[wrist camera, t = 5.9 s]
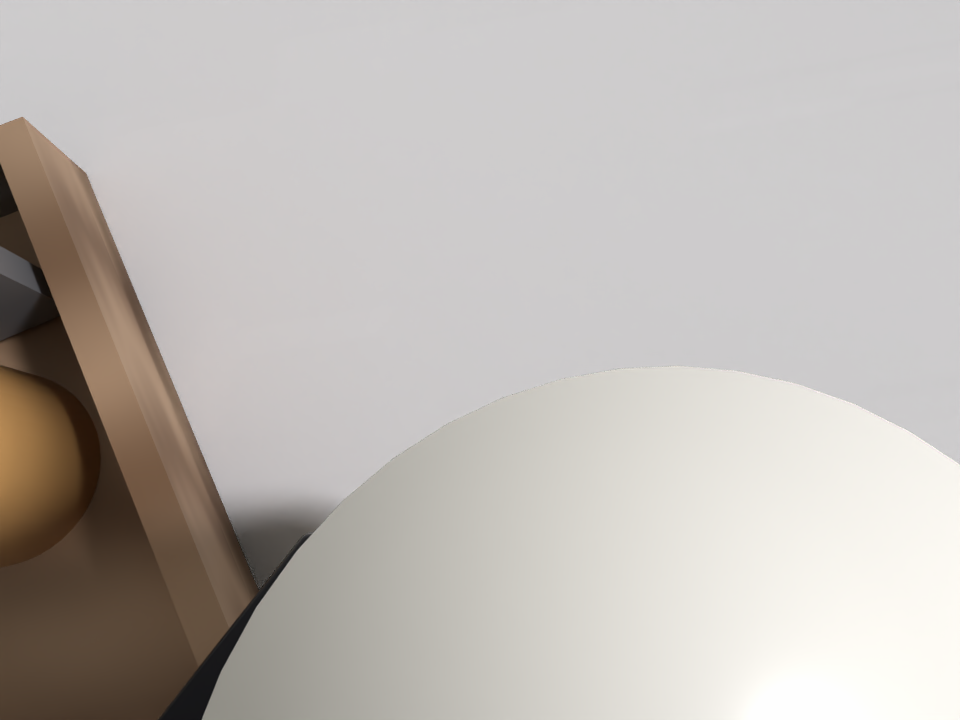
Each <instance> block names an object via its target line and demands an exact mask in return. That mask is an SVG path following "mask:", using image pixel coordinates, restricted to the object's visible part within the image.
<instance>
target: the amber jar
mask: <svg viewBox="0 0 960 720" xmlns="http://www.w3.org/2000/svg"><path fill="white" fill-rule="evenodd" d="M100 463H101V453H100V443H99V439H98V434H97V431H96V428H95V425H94V423H93V421H92V419H91V417H90V415H89V413H88V411H87V410H86V409H85V407H84V406H83V405H82V403H81V402H80V401H79V400H78V399H77V398H76V397H75V396H74V395H73V394H72V393H71V392H69V391H68V390H67V389H65V388H64V387H63V386H61V385H59V384H57V383H55V382H53V381H51V380H49V379H46V378H44V377H41V376H38V375H34V374H31V373H27V372H24V371H20V370H17V369H13V368H10V367H6V366H3V365H0V567H5V566H11V565H15V564H18V563H21V562H25V561H27V560H29V559H32V558H34V557H36V556H38V555H40V554H42V553H43V552H45V551H47V550H48V549H50V548H51V547H53V546H54V545H55V544H57V543H58V542H59V541H61V540H62V539H63V538H64V537H65V536H66V535H67V534H68V533H69V532H70V531H71V530H72V529H73V528H74V526H75V525H76V524H77V523H78V522H79V520H80V519H81V517H82V516H83V514H84V513H85V511H86V510H87V508H88V506H89V504H90V502H91V500H92V498H93V495H94V492H95V489H96V486H97V483H98V478H99V473H100Z"/></svg>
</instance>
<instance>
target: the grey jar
mask: <svg viewBox="0 0 960 720" xmlns="http://www.w3.org/2000/svg"><path fill="white" fill-rule="evenodd" d="M202 720H960V464H958V463H957V462H955V461H954V460H952V459H951V458H949V457H948V456H946V455H944V454H943V453H941V452H940V451H938V450H937V449H935V448H934V447H932V446H931V445H929V444H928V443H926V442H925V441H923V440H922V439H920V438H918V437H917V436H915V435H914V434H912V433H911V432H909V431H907V430H905V429H903V428H901V427H899V426H897V425H895V424H893V423H891V422H889V421H887V420H885V419H883V418H881V417H879V416H877V415H875V414H873V413H871V412H869V411H867V410H865V409H863V408H861V407H859V406H857V405H855V404H853V403H850V402H847V401H844V400H841V399H839V398H836V397H833V396H830V395H827V394H824V393H822V392H819V391H816V390H813V389H810V388H807V387H805V386H802V385H799V384H796V383H791V382H787V381H782V380H777V379H773V378H768V377H763V376H759V375H754V374H750V373H745V372H740V371H732V370H721V369H709V368H697V367H686V366H666V367H644V368H622V369H615V370H609V371H603V372H598V373H592V374H587V375H581V376H575V377H570V378H564V379H559V380H556V381H553V382H550V383H547V384H544V385H541V386H538V387H534V388H531V389H528V390H525V391H522V392H519V393H516V394H512V395H509V396H506V397H503V398H501V399H499V400H497V401H495V402H492V403H490V404H488V405H486V406H484V407H482V408H480V409H478V410H475V411H473V412H471V413H469V414H467V415H465V416H463V417H461V418H458V419H456V420H454V421H452V422H450V423H448V424H446V425H444V426H443V427H441V428H440V429H438V430H437V431H435V432H434V433H432V434H430V435H429V436H427V437H426V438H424V439H423V440H421V441H420V442H418V443H416V444H415V445H413V446H412V447H410V448H409V449H407V450H406V451H404V452H402V453H401V454H399V455H398V456H396V457H395V458H393V459H392V460H391V461H390V462H388V463H387V464H386V465H385V466H384V467H382V468H381V469H380V470H379V471H378V472H377V473H375V474H374V475H373V476H372V477H371V478H369V479H368V480H367V481H366V482H365V483H363V484H362V485H361V486H360V487H359V488H357V489H356V490H355V491H354V492H353V493H352V494H350V495H349V496H348V497H347V498H346V499H344V500H343V501H342V502H341V503H340V505H339V506H338V507H337V508H336V509H335V510H334V511H333V512H332V513H331V514H330V515H329V516H328V518H327V519H326V520H325V521H324V522H323V523H322V524H321V525H320V526H319V527H318V528H317V529H316V531H315V532H314V533H313V534H312V535H311V536H310V537H309V538H308V539H307V540H306V541H305V542H304V544H303V545H302V546H301V547H300V548H299V549H298V550H297V551H296V553H295V554H294V556H293V557H292V558H291V560H290V561H289V562H288V564H287V565H286V567H285V568H284V569H283V571H282V572H281V574H280V575H279V576H278V578H277V579H276V581H275V582H274V583H273V585H272V586H271V588H270V589H269V590H268V592H267V593H266V595H265V596H264V597H263V599H262V600H261V601H260V603H259V604H258V606H257V607H256V609H255V611H254V612H253V614H252V616H251V618H250V620H249V621H248V623H247V625H246V627H245V629H244V631H243V632H242V634H241V636H240V638H239V640H238V642H237V643H236V645H235V647H234V649H233V651H232V652H231V654H230V656H229V658H228V660H227V662H226V663H225V665H224V667H223V669H222V671H221V673H220V675H219V678H218V680H217V683H216V685H215V688H214V690H213V693H212V695H211V698H210V700H209V703H208V705H207V708H206V710H205V713H204V715H203V718H202Z"/></svg>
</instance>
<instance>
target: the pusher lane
mask: <svg viewBox="0 0 960 720" xmlns="http://www.w3.org/2000/svg"><path fill="white" fill-rule="evenodd" d="M0 246H1V247H3V248H5V249H6V250H8V251H10V252H12V253H14V254H15V255H17V256H19V257H21V258H23V259H24V260H26V261H28V262H30V263H32V264H33V265H35V266H37V267H39V268H41V269H42V271H43V273H44V276H45V278H46V281H47V283H48V286H49V288H50V291H51V293H52V296H53V299H54V301H55V304H56V306H57V309H58V311H59V314H60V316H58V317H56V318H54V319H51V320H49V321H46V322H44V323H42V324H39V325H37V326H35V327H32V328H30V329H27V330H25V331H23V332H20V333H18V334H16V335H13V336H11V337H8V338H6V339H4V340H1V341H0V365H3V366H6V367H10V368H13V369H17V370H20V371H24V372H27V373H31V374H34V375H38V376H41V377H44V378H46V379H49V380H51V381H53V382H55V383H57V384H59V385H61V386H63V387H64V388H65V389H67V390H68V391H69V392H71V393H72V394H73V395H74V396H75V397H76V398H77V399H78V400H79V401H80V402H81V403H82V405H83V406H84V407H85V409H86V410H87V411H88V413H89V415H90V417H91V419H92V421H93V423H94V425H95V428H96V431H97V434H98V439H99V443H100V453H101V463H100V473H99V478H98V483H97V486H96V489H95V492H94V495H93V498H92V500H91V502H90V504H89V506H88V508H87V510H86V511H85V513H84V514H83V516H82V517H81V519H80V520H79V522H78V523H77V524H76V525H75V526H74V528H73V529H72V530H71V531H70V532H69V533H68V534H67V535H66V536H65V537H64V538H63V539H62V540H61V541H59V542H58V543H57V544H55V545H54V546H53V547H51V548H50V549H48V550H47V551H45V552H43V553H42V554H40V555H38V556H36V557H34V558H32V559H29V560H27V561H25V562H21V563H18V564H15V565H11V566H5V567H0V720H157V719H158V718H159V716H160V715H161V714H162V712H163V711H164V710H165V709H166V707H167V706H168V705H169V704H170V702H171V701H172V700H173V699H174V697H175V696H176V695H177V694H178V692H179V691H180V690H181V689H182V687H183V686H184V685H185V683H186V682H187V681H188V680H189V678H190V677H191V676H192V675H193V673H194V672H195V671H196V670H197V668H198V667H199V666H200V665H201V663H202V662H203V661H204V660H205V658H206V657H207V656H208V654H209V653H210V652H211V651H212V649H213V648H214V647H215V646H216V644H217V643H218V642H219V641H220V639H221V638H222V637H223V636H224V634H225V633H226V632H227V631H228V629H229V628H230V627H231V625H232V624H233V623H234V622H235V620H236V619H237V618H238V617H239V615H240V614H241V613H242V612H243V610H244V609H245V608H246V607H247V605H248V604H249V603H250V602H251V600H252V599H253V598H254V596H255V595H256V594H257V593H258V591H259V590H258V588H257V586H256V583H255V581H254V578H253V576H252V573H251V571H250V569H249V566H248V564H247V561H246V559H245V557H244V554H243V552H242V549H241V547H240V544H239V542H238V540H237V537H236V535H235V532H234V530H233V528H232V525H231V523H230V520H229V518H228V515H227V513H226V511H225V508H224V506H223V503H222V501H221V499H220V496H219V494H218V491H217V489H216V486H215V484H214V482H213V479H212V477H211V474H210V472H209V470H208V467H207V465H206V462H205V460H204V457H203V455H202V453H201V450H200V448H199V445H198V443H197V441H196V438H195V436H194V433H193V431H192V428H191V426H190V424H189V421H188V419H187V416H186V414H185V412H184V409H183V407H182V404H181V402H180V399H179V397H178V395H177V392H176V390H175V387H174V385H173V383H172V380H171V378H170V375H169V373H168V370H167V368H166V366H165V363H164V361H163V358H162V356H161V354H160V351H159V349H158V346H157V344H156V341H155V339H154V337H153V334H152V332H151V329H150V327H149V325H148V322H147V320H146V317H145V315H144V312H143V310H142V308H141V305H140V303H139V300H138V298H137V296H136V293H135V291H134V288H133V286H132V283H131V281H130V279H129V276H128V274H127V271H126V269H125V267H124V264H123V262H122V259H121V257H120V254H119V252H118V250H117V247H116V245H115V242H114V240H113V238H112V235H111V233H110V230H109V228H108V225H107V223H106V221H105V218H104V216H103V213H102V211H101V209H100V206H99V204H98V201H97V199H96V196H95V194H94V192H93V189H92V187H91V184H90V182H89V180H88V177H87V175H86V173H85V172H84V171H83V170H82V169H81V168H79V167H78V166H77V165H76V164H75V163H74V162H73V161H72V160H70V159H69V158H68V157H67V156H66V155H65V154H64V153H63V152H61V151H60V150H59V149H58V148H57V147H56V146H55V145H54V144H53V143H51V142H50V141H49V140H48V139H47V138H46V137H45V136H44V135H42V134H41V133H40V132H39V131H38V130H37V129H36V128H35V127H34V126H32V125H31V124H30V123H29V122H28V121H27V120H26V119H25V118H23V117H21V118H18V119H15V120H13V121H10V122H7V123H5V124H2V125H0Z"/></svg>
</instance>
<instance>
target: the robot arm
mask: <svg viewBox="0 0 960 720" xmlns="http://www.w3.org/2000/svg"><path fill="white" fill-rule="evenodd" d="M312 534H313V533H307V534H305V535H303V536H302V537H301V539H300V540H299V541H298V542H297V544H296V545H295V546H294V547H293V549H292V550H291V551H290V552H289V554H288V555H287V556H286V557H285V559H284V560H283V561H282V562H281V564H280V565H279V566H278V567H277V569H276V570H275V571H274V573H273V574H272V575H271V576H270V578H269V579H268V580H267V581H266V583H265V584H264V585H263V586H262V588H261V589H260V590H259V591H258V593H257V594H256V595H255V596H254V598H253V599H252V600H251V602H250V603H249V604H248V605H247V607H246V608H245V609H244V610H243V612H242V613H241V614H240V615H239V617H238V618H237V619H236V620H235V622H234V623H233V624H232V625H231V627H230V628H229V629H228V631H227V632H226V633H225V634H224V636H223V637H222V638H221V639H220V641H219V642H218V643H217V644H216V646H215V647H214V648H213V649H212V651H211V652H210V653H209V654H208V656H207V657H206V658H205V660H204V661H203V662H202V663H201V665H200V666H199V667H198V668H197V670H196V671H195V672H194V673H193V675H192V676H191V677H190V678H189V680H188V681H187V682H186V683H185V685H184V686H183V687H182V689H181V690H180V691H179V692H178V694H177V695H176V696H175V697H174V699H173V700H172V701H171V702H170V704H169V705H168V706H167V707H166V709H165V710H164V711H163V712H162V714H161V715H160V716H159V718H158V719H157V720H202V718H203V715H204V713H205V710H206V708H207V705H208V703H209V700H210V698H211V695H212V693H213V690H214V688H215V685H216V683H217V680H218V678H219V675H220V673H221V671H222V669H223V667H224V665H225V663H226V662H227V660H228V658H229V656H230V654H231V652H232V651H233V649H234V647H235V645H236V643H237V642H238V640H239V638H240V636H241V634H242V632H243V631H244V629H245V627H246V625H247V623H248V621H249V620H250V618H251V616H252V614H253V612H254V611H255V609H256V607H257V606H258V604H259V603H260V601H261V600H262V599H263V597H264V596H265V595H266V593H267V592H268V590H269V589H270V588H271V586H272V585H273V583H274V582H275V581H276V579H277V578H278V576H279V575H280V574H281V572H282V571H283V569H284V568H285V567H286V565H287V564H288V562H289V561H290V560H291V558H292V557H293V556H294V554H295V553H296V551H297V550H298V549H299V548H300V547H301V546H302V545H303V544H304V542H305V541H306V540H307V539H308V538H309V537H310V536H311V535H312Z"/></svg>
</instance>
